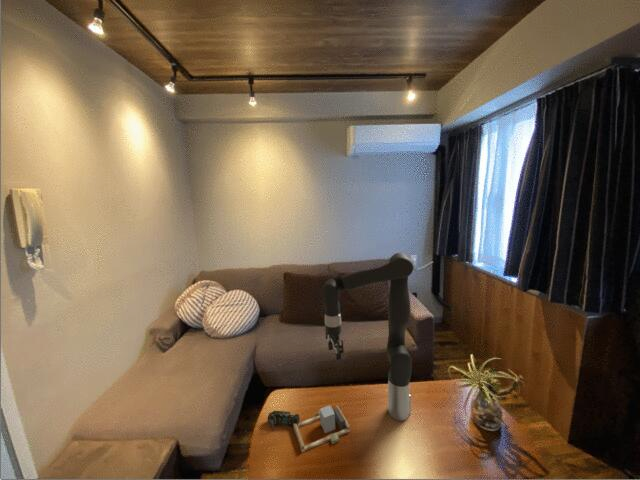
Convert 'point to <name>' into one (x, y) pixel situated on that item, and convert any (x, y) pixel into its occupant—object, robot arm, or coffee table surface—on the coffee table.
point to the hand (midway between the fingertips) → (334, 354)
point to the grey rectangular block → (327, 419)
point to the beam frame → (333, 437)
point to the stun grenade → (282, 418)
